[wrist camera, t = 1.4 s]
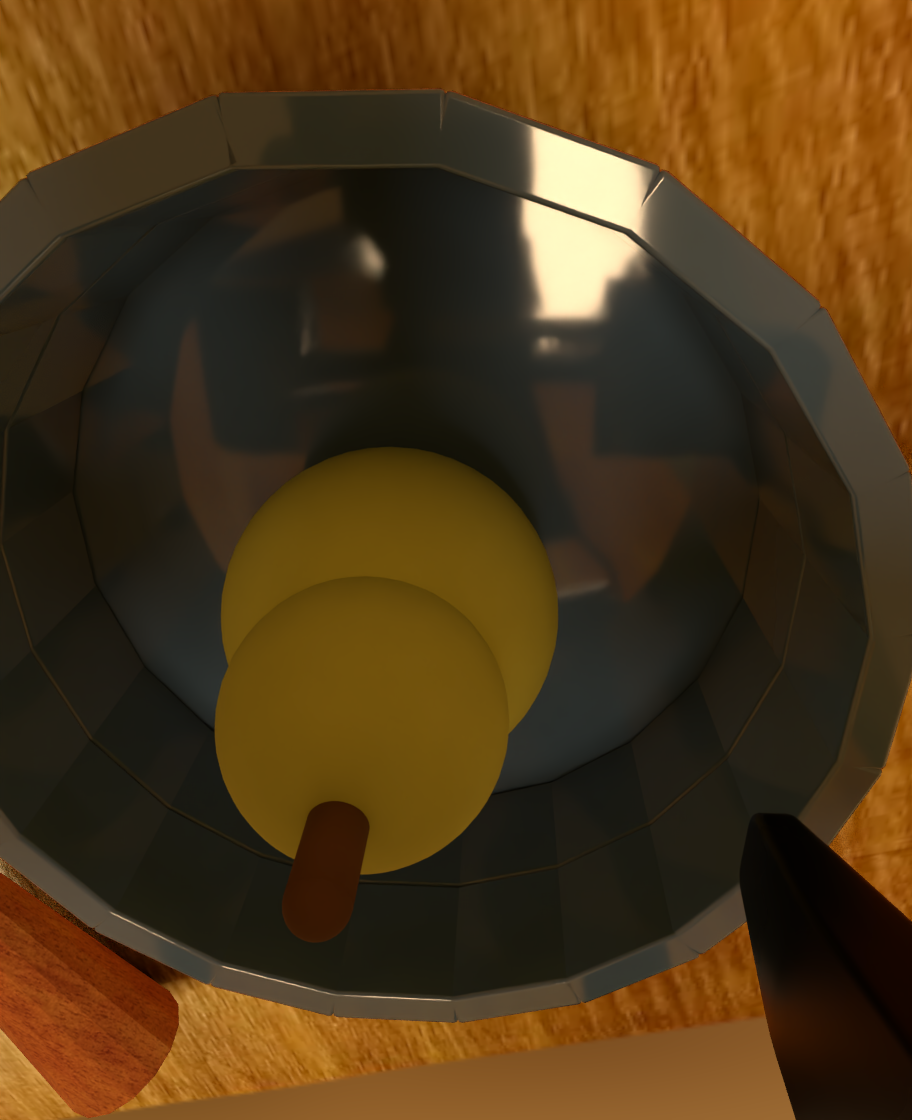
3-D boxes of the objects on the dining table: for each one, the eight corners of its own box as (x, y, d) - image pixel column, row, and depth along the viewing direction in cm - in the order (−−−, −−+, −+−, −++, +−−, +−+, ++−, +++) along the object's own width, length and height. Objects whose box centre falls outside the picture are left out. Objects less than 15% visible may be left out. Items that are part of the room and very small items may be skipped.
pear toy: (544, 662, 16) (579, 1115, 8) (288, 656, 17) (94, 1089, 9) (556, 407, 14) (622, 710, 6) (257, 406, 14) (-48, 692, 6)
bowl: (726, 811, 19) (805, 1042, 14) (134, 792, 19) (7, 1003, 14) (857, 115, 12) (1095, 76, 7) (-34, 128, 13) (-362, 102, 8)
